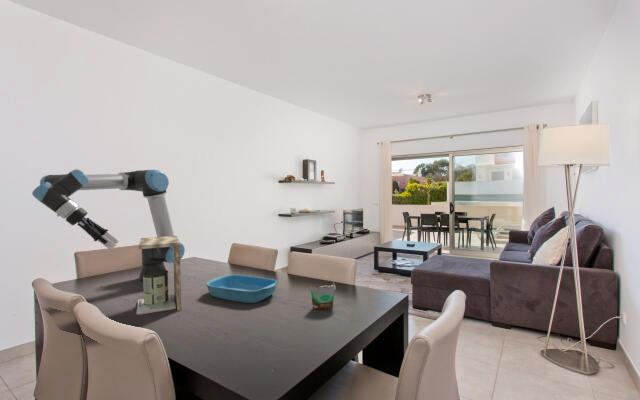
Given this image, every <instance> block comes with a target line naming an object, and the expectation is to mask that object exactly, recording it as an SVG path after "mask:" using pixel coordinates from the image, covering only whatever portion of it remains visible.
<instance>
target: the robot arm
mask: <svg viewBox="0 0 640 400" xmlns="http://www.w3.org/2000/svg"><path fill="white" fill-rule="evenodd" d="M169 184H170V182H169V178H168V176H167V174H166V173H165V172H164V171H162V170H159V169H143V170H142V169H141V170H135V171H134V170H133V171H125V172H122V171H121V172H118V174H117V173H116V174H115V173H114V174H113V173H112V174H109V173H107V174H86V173H84V172H83V171H82V170H81V169H78V168H77V169H73V170H72V171H69V172H68V173H65V174H48V175H44V176H43V177H41V179H40V180H39V185H38V186H37V187H35V188H34V189H33V190H32V193H31V195H32V196H33V198H35V199H36V200H37V201H38V202H40V203H41V204H42V205H44V206H46V207H47V208H48V209H50V210H51V211H52V212H54V213H55V214H56V216H57V217H60V218H62V219H63V220H64V219H65V222H67V223H68V224H70V225H71V226H75V225H76V224H77V226H78V227H79V228H81V229H82V230H83V231H84V232H86V233H87V235H89V236H90V237H91V238H92V239H93V241H94V242H97V241H98V242H99V243H101V245H103V246H104V247H106V248H107V249H108V250H110V251H112V250H113V249H114V248H115V247H116V246H117V244H118V243H119V241H120V240H118V238H116V237H114V236H113V235H112V234H111V233H109V232H108V231H109V229H106V228H104V227H102V226H101V225H99V224H98V223H96V222H95V221H93V220H92V219H90V218H89V217H86V216H87V215H88V212H87V211H86V210H85V209H84V208H83V207H80V205H79V204H77V203H76V202H75V201H74V200H73V199H72V198H69V197H70V196H72V195H73V194H75V193H76V192H77V191H90V190H93V191H95V190H113V189H118V190H120V191H135V192H142V196H143V197H144V198H145V199H146V200H147V202H148V205H149V206H148V207H149V211H150V215H151V218H152V222H153V226H154V230H155V234H156V237H165V236H176V235H175V234H174V230H173V226H172V222H171V217H170V215H169V210H168V209H169V208H168V206H167V201H166V197H165V195H166V194H167V189H168V187H169ZM184 255H185V245H184V244H183V243H181V242H180V261H181V260H182V259H183V256H184ZM165 263H168V264H174V258H173V247H161V248H148V249H141V268H140V272H139V276H138V280H139V281H141V282H143V273H144V272H147V271H152V270H167V267H166V266H165Z"/></svg>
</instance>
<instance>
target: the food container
mask: <svg viewBox="0 0 640 400" xmlns="http://www.w3.org/2000/svg"><path fill="white" fill-rule="evenodd" d="M336 289H337V287H336V284H335V282H332V283H331V284H328V285H327V284H324V285H323V284H322V285H319V286H312V285H310V287H309V292H311V293H310V295H311V303H312V309H313V308H315V309H314V310H316V309H319V310H318V311H326V310H325V309H329V310H331V309H333V308H332V307H333V306H334V296H335V291H336ZM330 308H331V309H330Z"/></svg>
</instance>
